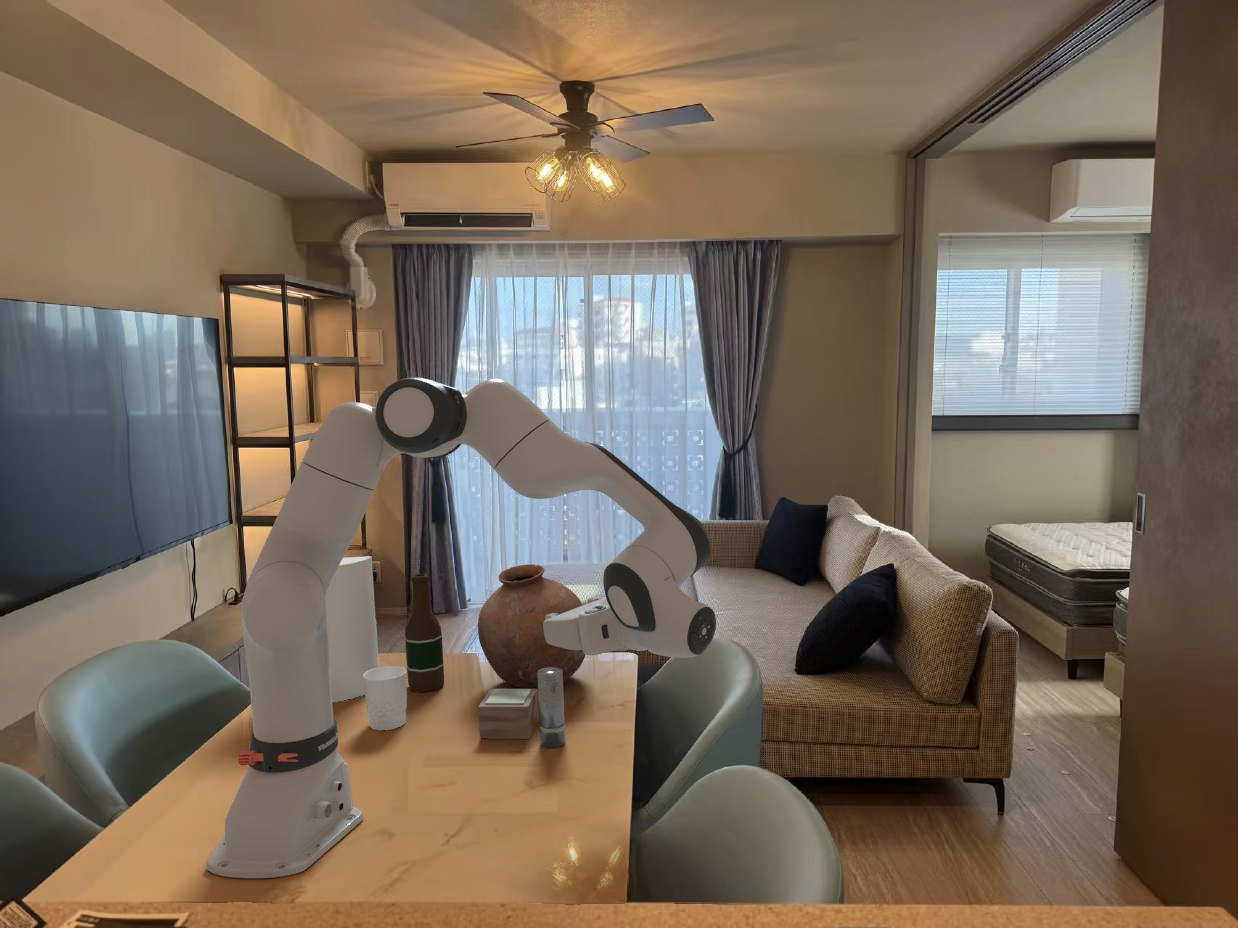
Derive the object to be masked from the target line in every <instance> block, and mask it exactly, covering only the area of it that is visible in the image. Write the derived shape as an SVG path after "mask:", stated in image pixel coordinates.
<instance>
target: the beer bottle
mask: <svg viewBox="0 0 1238 928" xmlns="http://www.w3.org/2000/svg"><path fill="white" fill-rule="evenodd" d="M410 581H411V583H412V607H411V614H410V616H409V617H408V618H407V620H406V624H405V627H404V640H405V641H404V643H405V655H406V657H405V658H406V659H405V660H406V678H407V684H408V687H409V689H410V691H411V692H415V691H418V692H417V693H427V692H426V691H428V692H433V691H434V690H435V691H438V690H439V689H440V687H441V688H442V687H444V686H445V668H444V667H445V666H444V651H443V649H444V648H443V634H442V626H441V624H440V622H439V619H438V618H437V616H436V615H435V614H434V613H433V610H432V605H431V597H430V589H429V581H430V577H429V575H428V574H426V573H417V574H413V575H412V576H411V579H410ZM438 688H439V689H438ZM435 691H434V692H435Z"/></svg>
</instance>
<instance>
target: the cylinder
mask: <svg viewBox="0 0 1238 928" xmlns="http://www.w3.org/2000/svg"><path fill="white" fill-rule="evenodd" d="M373 572H374V571H373V556H372V555H371V556H370V555H367V556H352V557H343V559H342V560H341V562H340V564H339V566H338V568H337V570H336V572H335V574H334V576H333V578H332V580H331V582H330V584H329V587H328V589H327V592H326V597H325V601H326V615H327V631H328V647H329V662H330V677H331V692H332V703H339V701H340V702H345V701H344V700H346V701H348V700H347V699H351V700H354V699H353V698H355V697H358V696H361V697H364V696H365V689H364V680H363V674H364V673H365V672H367V671H369V670H371V669H374V668H378V667H380V663H379V662H380V661H379V649H378V647H379V646H378V645H379V644H378V630H377V619H376V606H375V604H376V603H375V602H376V601H375V590H374V589H375V588H374V587H375V586H374V574H373ZM363 695H364V696H363ZM358 698H359V697H358ZM355 699H356V698H355Z"/></svg>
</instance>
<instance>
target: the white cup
mask: <svg viewBox="0 0 1238 928" xmlns="http://www.w3.org/2000/svg"><path fill="white" fill-rule="evenodd" d="M363 680H364V689H365V695H364V696H365V702H366V710H367V715H368V716H367V717H368V725H369V728H371V730H375V731H382V730H383V731H384V730H385V731H391V730H396V729H399V728H401V727H403V726H404V725H405V724H406V722H407V705H408V704H407V703H408V702H407V700H408V698H407V697H408V695H407V694H408V691H407V688H408V687H407V684H408V682H407V668H405V667H403V666H400V665H386V666H385V665H384V666H379V667H378V668H374V669H371V670H369V671H367V672H365V673H364V674H363ZM398 727H399V728H398ZM395 728H396V729H395ZM383 731H382V732H383Z"/></svg>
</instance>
